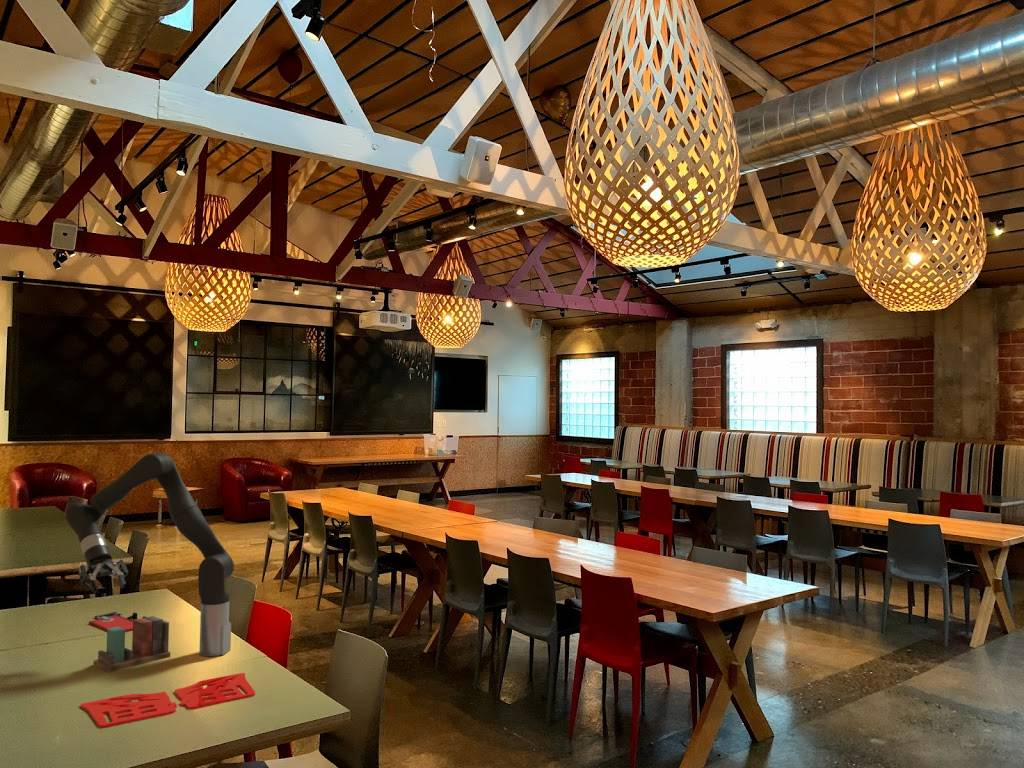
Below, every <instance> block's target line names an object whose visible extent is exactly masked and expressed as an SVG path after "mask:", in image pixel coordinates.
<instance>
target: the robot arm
mask: <svg viewBox="0 0 1024 768" xmlns="http://www.w3.org/2000/svg"><path fill="white" fill-rule="evenodd" d="M151 480H152V481H153V480H155V481H157V482H158V483H159V485H160V486H161V488H162V489H163V491H164V493H165V495H166V499H167V507H168V513H169V516H170V518H171V520H172V522H173V523H174V526H175V527H176V528H177V530H178V531H179V533H180V534H181V535H182V536H183V537H184V538H186V539H187V540H188V541H189V542H191V543H192V544H193V545H194V546H196V547H197V548H198V550H199V551H200V552H201V554H202V555H203V558H204V559H203V560H202V561H201V562H200V564H199V566H198V577H197V578H198V587H197V589H198V595H199V598H200V617H199V619H200V620H199V623H200V624H199V651H198V652H199V655H200V656H203V657H216V656H224V655H225V654H228V652H229V651H231V649H232V648H231V645H232V622H231V621H230V599H231V598H230V597H231V596H230V595H231V594H230V593H229V592H228V591H227V590H226V589H225V580H227V579H228V578H230V577H231V576H232V575H233V573H234V571H235V564H234V560H233V558H232V556H231V555H230V554H229V553H228V551H227V550H226V549H225V547H224V546H223V544H221V542H220V540H219V539H218V538H217V536H216V534H215V533H214V531H213V529H212V528H211V526H210V525H209V523H208V521H207V520H206V518H205V516H204V515H203V512H202V511H201V509H200V507H199V506H198V504H197V502H196V501H195V500H194V498H193V496H192V494H191V493H190V491H189V490H188V487H187V486H186V485H185V483H184V481H183V479H182V477H181V474H180V472H179V470H178V468H177V465H176V464H175V461H174V460H173V459H172V457H171V456H170V455H168V454H167V453H163V452H156V453H155V452H154V453H152V452H151V453H147V454H145V455H144V456H143V457H141V458H140V459H139V460H138V461H137V462H136V463H135V464H133V466H131V467H130V468H129V469H128V470H127V471H126V472H124V473H123V474H122V475H121V476H120V477H118V478H117V479H115V480H114V481H112V482H111V483H110V484H108V485H107V486H105V487H103V488H102V489H100V490H98V491H97V492H95V493H94V494H93V495H92V496H91V497H90V505H89V504H86V503H83V502H77V501H76V502H72V503H70V504H69V505H68V506H67V508H66V510H65V519H66V521H67V524H69V526H70V527H71V528H72V530H73V531H74V533H75V534H76V535H77V538H78V541H79V544H80V547H81V552H82V555H83V557H84V560H85V562H86V565H84V564H81V565H80V567H79V568H78V570H77V571H78V575H79V579H80V583H81V584H83V585H85V584H88V585H89V587H90V591H91V592H93V594H97V593H98V591H99V588H98V584H97V582H96V581H97V580H96V579H95V578H96V577H98V578H101V577H106V576H109V577H111V578H115V579H117V582H118V585H119V588H120V589H124V588H125V586H126V584H127V581H126V579H125V578H126V577H127V576H128V573H129V570H128V567H127V565H126V564H125V561H124V560H123V559H121V558H120V559H119V561H115V560H113V557H112V555H111V552H110V550H109V546H108V543H107V542H106V539H105V538H104V536H103V533H102V530H101V528H100V526H99V524H97V522H98V521H99V520H100V519H101V517H102V516H103V515H104V514H105V513H106V512H107V511H108V510H109V509H110V508H112V507H114V506H115V505H117V504H118V503H120V502H121V501H123V500H124V499H125V498H126V496H128V495H129V494H130V492H131V491H132V490H134V489H135V488H136V487H138V486H140V485H141V484H144V483H146V482H149V481H151ZM112 571H113V572H112ZM87 572H90V574H92V575H91V576H90V577H88V574H87Z"/></svg>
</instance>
